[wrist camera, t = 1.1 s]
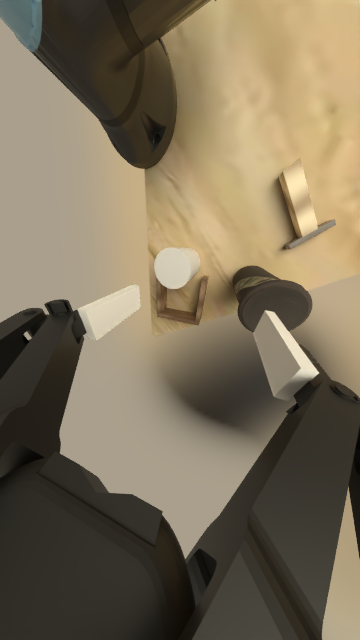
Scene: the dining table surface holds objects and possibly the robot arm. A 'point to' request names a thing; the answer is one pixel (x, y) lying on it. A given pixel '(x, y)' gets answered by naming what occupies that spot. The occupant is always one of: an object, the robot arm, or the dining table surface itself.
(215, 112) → the dining table surface
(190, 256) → the white cylinder
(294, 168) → the scraper
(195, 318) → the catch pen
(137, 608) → the robot arm
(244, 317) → the container
